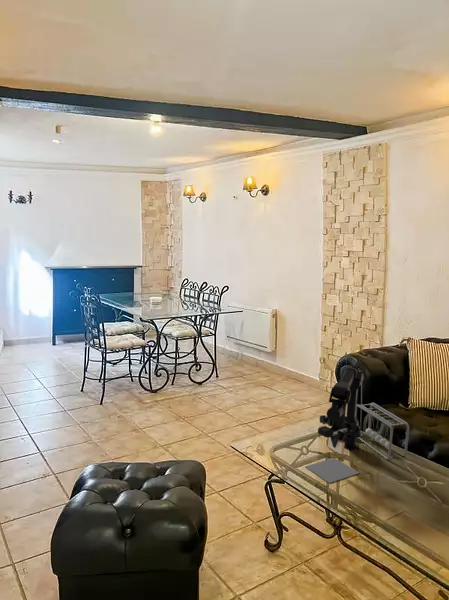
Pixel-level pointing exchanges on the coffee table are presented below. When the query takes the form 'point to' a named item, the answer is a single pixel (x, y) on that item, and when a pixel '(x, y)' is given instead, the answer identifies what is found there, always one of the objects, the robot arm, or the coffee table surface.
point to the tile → (337, 446)
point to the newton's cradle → (374, 434)
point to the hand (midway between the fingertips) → (336, 446)
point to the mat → (332, 470)
